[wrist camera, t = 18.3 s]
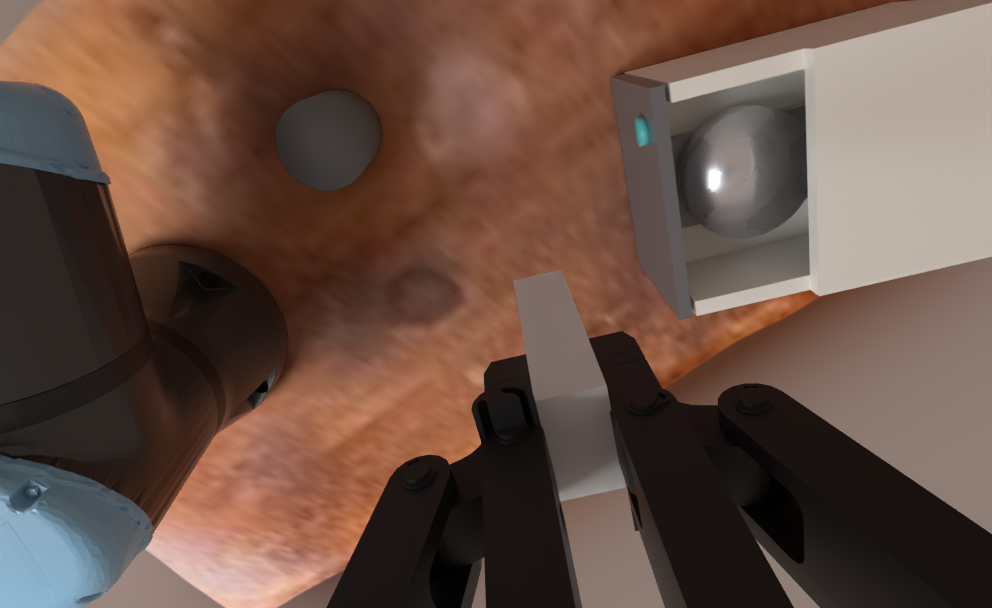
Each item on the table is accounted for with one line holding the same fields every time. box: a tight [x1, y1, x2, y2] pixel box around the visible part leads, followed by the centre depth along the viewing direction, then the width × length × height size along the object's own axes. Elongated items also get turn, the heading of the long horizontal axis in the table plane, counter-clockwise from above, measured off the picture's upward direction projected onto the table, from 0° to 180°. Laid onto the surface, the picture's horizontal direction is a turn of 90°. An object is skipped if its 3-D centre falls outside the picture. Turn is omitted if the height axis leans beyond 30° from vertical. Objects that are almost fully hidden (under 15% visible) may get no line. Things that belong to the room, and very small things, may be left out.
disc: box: [676, 104, 808, 239], centre depth 37 cm, size 8×8×2 cm
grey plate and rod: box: [610, 74, 808, 320], centre depth 38 cm, size 18×14×10 cm
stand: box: [275, 89, 382, 191], centre depth 39 cm, size 6×6×6 cm
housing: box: [624, 0, 992, 316], centre depth 38 cm, size 18×14×12 cm
